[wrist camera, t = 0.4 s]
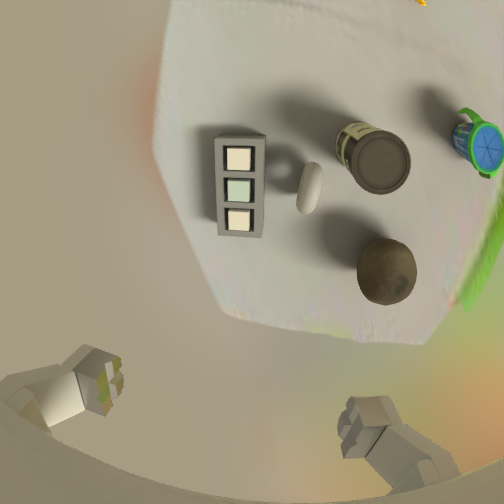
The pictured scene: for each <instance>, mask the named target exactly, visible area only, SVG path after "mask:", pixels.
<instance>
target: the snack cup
mask: <svg viewBox="0 0 504 504" xmlns="http://www.w3.org/2000/svg"><path fill="white" fill-rule="evenodd" d="M457 113H466V114H467V115H468V116H469V117H470V118H471V120H472V121H473V123H461V124H459V125H458V126H457V127H456V128H455V130H454V133H453V136H452V140H453V143H454V146H455V148H456V150H457V151H458V152H459V153H460V154H461V155H462V156H463V157H464V158H466V159H467V160H468V161H469V162H471V163H472V165H473V166H474V168H475V169H476V170H477V171H479V175H480V176H482V177H484V178H487V179H491V178H493V177H494V176H495V175H496V174H497V173H498V169H499V168H500V167H501V165H502V163H503V161H504V137H503V135H502V133H501V131H500V130H499V128H498V127H497V126H496V125H494V124H492V123H489V122H485V121H484V120H483V119H482V118H481V117H480V116H479V115H478V114H477V113H475V112H474V111H472V110H471V109H469V108H463V109H461V110H459V111H458V112H457Z"/></svg>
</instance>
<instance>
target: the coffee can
mask: <svg viewBox="0 0 504 504" xmlns="http://www.w3.org/2000/svg"><path fill="white" fill-rule="evenodd" d="M336 153H337V156H338V158H339V160H340V161H341V162H342V164H343V165H344V166H345V167H346V168H347V169H348V170H349V172H350V173H351V174H352V175H353V177H354V179H355V180H356V182H357V183H358V184H359V185H360V186H361V187H362V188H363V189H364V190H366V191H368V192H370V193H373V194H379V195H383V194H388V193H391V192H394V191H395V190H397V189H398V188H400V187H401V186H402V185H403V184H404V182H405V181H406V179H407V178H408V175H409V173H410V168H411V157H410V153H409V150H408V148H407V146H406V144H405V143H404V142H403V141H402V139H400V138H399V137H398V136H396V135H395V134H393V133H391V132H387V131H383V130H381V129H378V128H376V127H373V126H371V125H369V124H366V123H361V122H357V123H352V124H350V125H347V126H346V127H345V128H343V129H342V130H341V132H340V133H339V135H338V137H337V140H336Z"/></svg>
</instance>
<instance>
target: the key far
mask: <svg viewBox="0 0 504 504" xmlns="http://www.w3.org/2000/svg"><path fill="white" fill-rule="evenodd" d="M228 217H229V230H242V231H249V228H250V209H246V208H230V209H229V211H228Z"/></svg>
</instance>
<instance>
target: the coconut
mask: <svg viewBox="0 0 504 504" xmlns="http://www.w3.org/2000/svg"><path fill="white" fill-rule="evenodd" d="M416 276H417V268H416V263H415V260H414V257H413V254H412V252H411V251H410V250H409V248H408V247H407V246H405V245H404V244H402V243H400V242H398V241H396V240H393V239H388V238H383V239H379V240H376V241H374V242H372V243H371V244H369V245H368V246H367V247H366V248H365V249H364V250H363V252H362V254H361V256H360V257H359V260H358V264H357V280H358V284H359V286H360V289H361V291H362V293H363V294H364V296H365V297H366V298H367V299H368V300H369V301H371V302H374V303H377V304H381V305H390V304H395V303H398V302H400V301H402V300H404V299H405V298H407V297H408V296H409V294H410V293H411V292H412V290H413V288H414V285H415V282H416Z"/></svg>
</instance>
